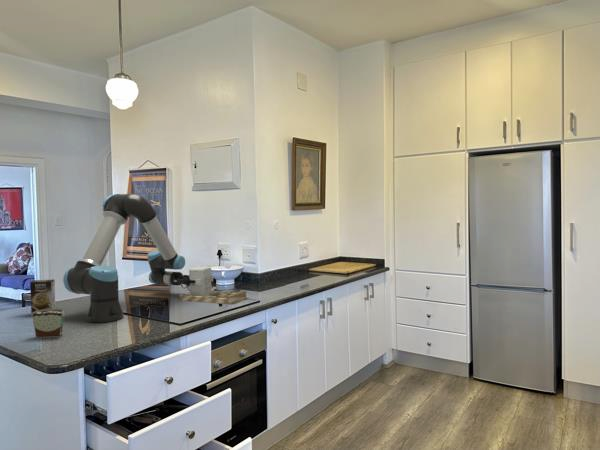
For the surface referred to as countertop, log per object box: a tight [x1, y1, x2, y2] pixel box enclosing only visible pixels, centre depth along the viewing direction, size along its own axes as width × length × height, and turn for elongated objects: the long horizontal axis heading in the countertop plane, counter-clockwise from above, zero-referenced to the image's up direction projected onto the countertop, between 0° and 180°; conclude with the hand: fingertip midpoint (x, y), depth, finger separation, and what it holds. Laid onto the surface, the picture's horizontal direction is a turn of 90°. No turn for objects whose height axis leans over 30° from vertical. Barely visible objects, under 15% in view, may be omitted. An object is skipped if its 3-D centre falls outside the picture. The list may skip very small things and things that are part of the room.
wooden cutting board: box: [179, 289, 247, 305], centre depth 239 cm, size 32×20×4 cm, turn 66°
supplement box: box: [188, 266, 212, 297], centre depth 239 cm, size 9×9×15 cm
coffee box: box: [29, 279, 56, 315], centre depth 210 cm, size 9×6×16 cm
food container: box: [30, 308, 66, 339], centre depth 175 cm, size 12×6×10 cm, turn 92°
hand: (207, 280), depth 238 cm, fingers closed on supplement box, 10 cm apart
